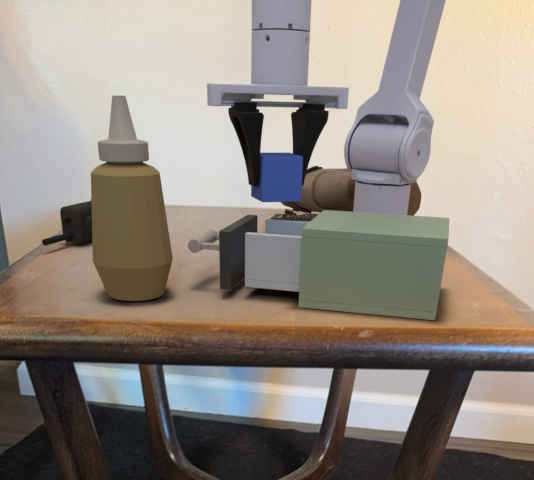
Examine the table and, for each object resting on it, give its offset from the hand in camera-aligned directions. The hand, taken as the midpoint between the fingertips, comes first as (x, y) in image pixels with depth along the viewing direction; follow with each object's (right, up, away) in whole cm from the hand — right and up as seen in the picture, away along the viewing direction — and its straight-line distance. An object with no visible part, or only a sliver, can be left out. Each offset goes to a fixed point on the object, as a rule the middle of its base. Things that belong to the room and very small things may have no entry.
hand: (276, 185), depth 68 cm
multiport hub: (+7, +5, +28) cm, 30 cm away
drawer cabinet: (+10, -13, -1) cm, 16 cm away
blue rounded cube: (0, -1, +1) cm, 1 cm away
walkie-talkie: (-24, +7, +24) cm, 35 cm away
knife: (+6, +11, +37) cm, 39 cm away
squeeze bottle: (-15, -13, -2) cm, 20 cm away
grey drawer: (-1, -10, +1) cm, 10 cm away
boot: (+20, +14, +33) cm, 41 cm away
